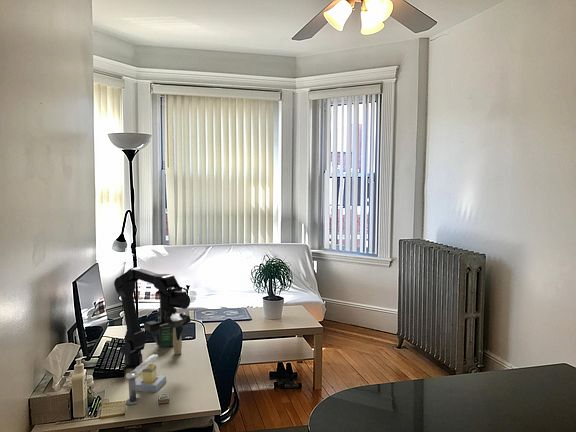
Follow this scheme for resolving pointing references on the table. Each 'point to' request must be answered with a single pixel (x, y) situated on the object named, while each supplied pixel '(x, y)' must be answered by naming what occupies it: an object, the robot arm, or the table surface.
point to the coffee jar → (165, 334)
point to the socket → (150, 384)
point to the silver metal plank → (141, 367)
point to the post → (132, 393)
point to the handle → (176, 343)
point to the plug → (149, 374)
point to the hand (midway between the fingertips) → (168, 342)
